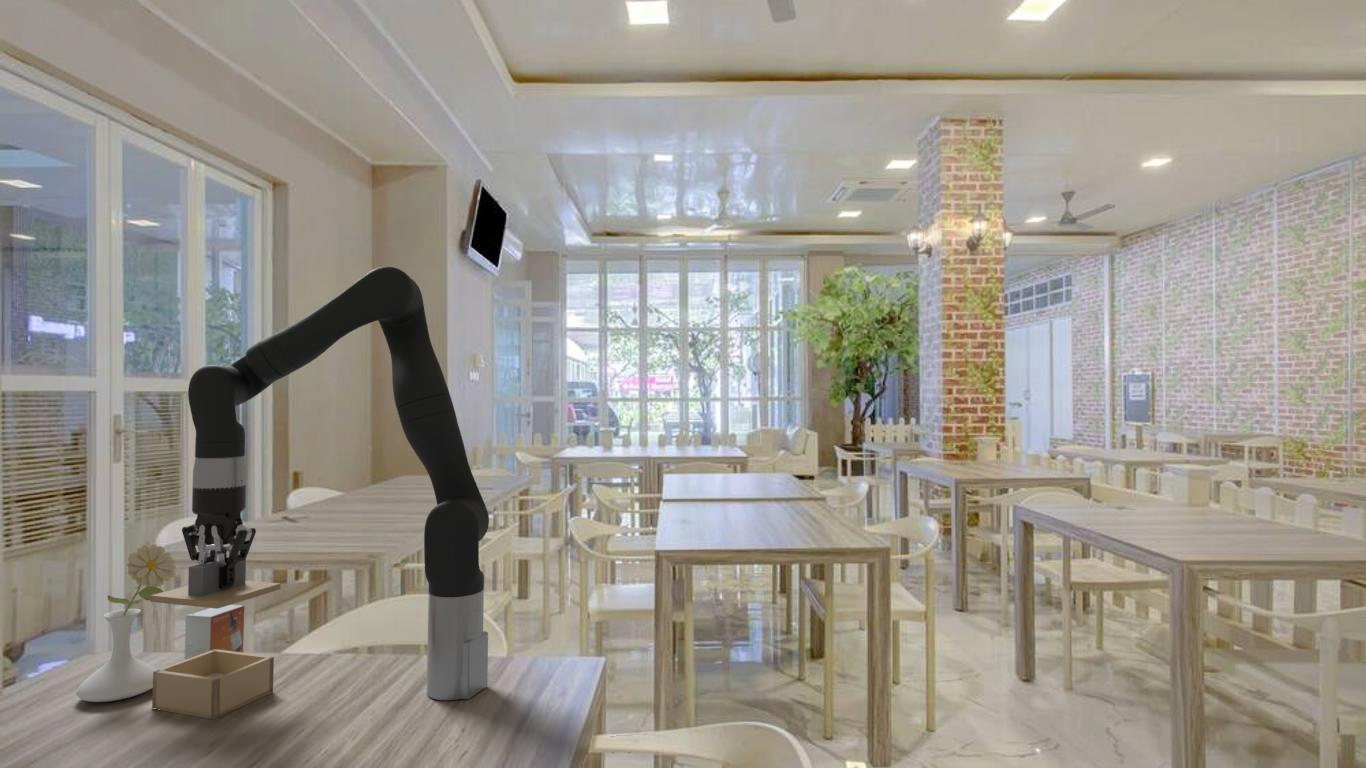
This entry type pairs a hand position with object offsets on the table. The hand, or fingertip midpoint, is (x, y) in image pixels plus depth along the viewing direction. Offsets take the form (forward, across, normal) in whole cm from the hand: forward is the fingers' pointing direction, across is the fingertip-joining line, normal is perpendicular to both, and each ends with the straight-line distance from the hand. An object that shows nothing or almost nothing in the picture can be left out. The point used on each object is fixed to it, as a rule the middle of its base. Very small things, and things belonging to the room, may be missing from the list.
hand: (217, 586), depth 118 cm
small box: (+19, +14, -12) cm, 27 cm away
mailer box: (+19, 0, 0) cm, 19 cm away
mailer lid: (+1, 0, 0) cm, 1 cm away
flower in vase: (+19, +17, +2) cm, 26 cm away
